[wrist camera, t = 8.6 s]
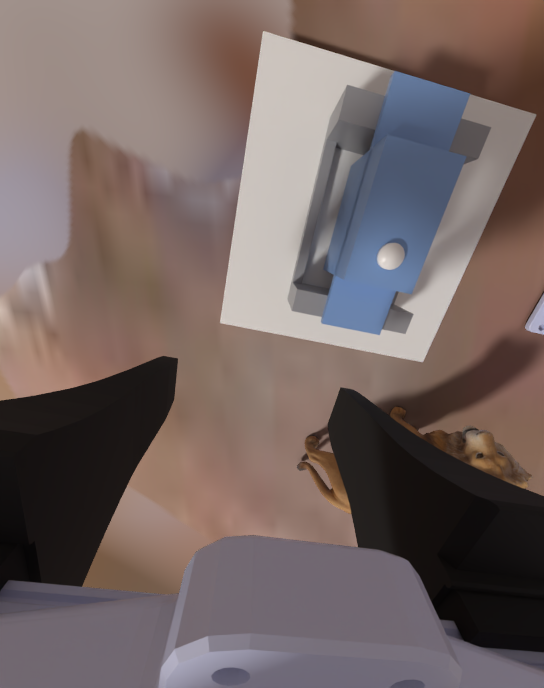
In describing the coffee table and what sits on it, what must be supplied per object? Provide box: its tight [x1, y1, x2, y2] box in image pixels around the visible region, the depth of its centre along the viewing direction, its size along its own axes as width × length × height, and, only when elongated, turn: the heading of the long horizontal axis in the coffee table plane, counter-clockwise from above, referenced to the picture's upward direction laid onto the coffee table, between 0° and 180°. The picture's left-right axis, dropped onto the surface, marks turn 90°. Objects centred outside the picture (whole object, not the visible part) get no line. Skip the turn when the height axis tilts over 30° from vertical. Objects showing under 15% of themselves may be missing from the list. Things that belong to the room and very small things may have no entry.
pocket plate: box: [220, 31, 536, 362], centre depth 16 cm, size 16×16×4 cm
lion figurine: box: [297, 407, 532, 514], centre depth 20 cm, size 15×5×9 cm, turn 120°
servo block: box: [321, 71, 470, 335], centre depth 14 cm, size 4×12×5 cm, turn 168°
